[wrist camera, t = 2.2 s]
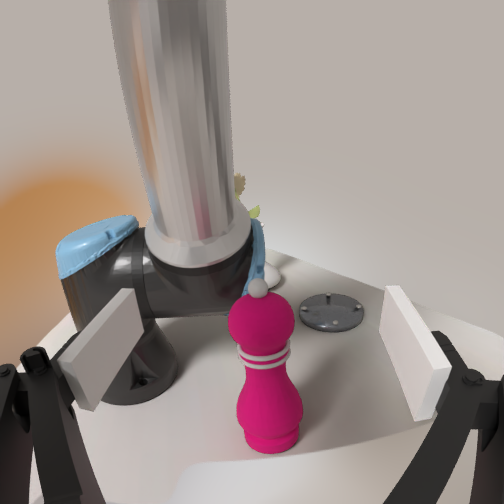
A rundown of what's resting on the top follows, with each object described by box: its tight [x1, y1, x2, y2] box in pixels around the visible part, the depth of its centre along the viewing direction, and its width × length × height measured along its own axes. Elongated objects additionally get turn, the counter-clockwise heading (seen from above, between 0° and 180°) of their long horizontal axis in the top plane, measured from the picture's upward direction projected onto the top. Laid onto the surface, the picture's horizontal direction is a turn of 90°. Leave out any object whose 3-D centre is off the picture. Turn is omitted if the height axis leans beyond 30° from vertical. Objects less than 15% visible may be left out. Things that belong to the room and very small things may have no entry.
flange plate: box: [299, 293, 363, 332], centre depth 58 cm, size 12×12×2 cm
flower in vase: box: [234, 173, 281, 289], centre depth 68 cm, size 13×11×25 cm
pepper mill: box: [228, 278, 303, 454], centre depth 31 cm, size 7×7×20 cm
